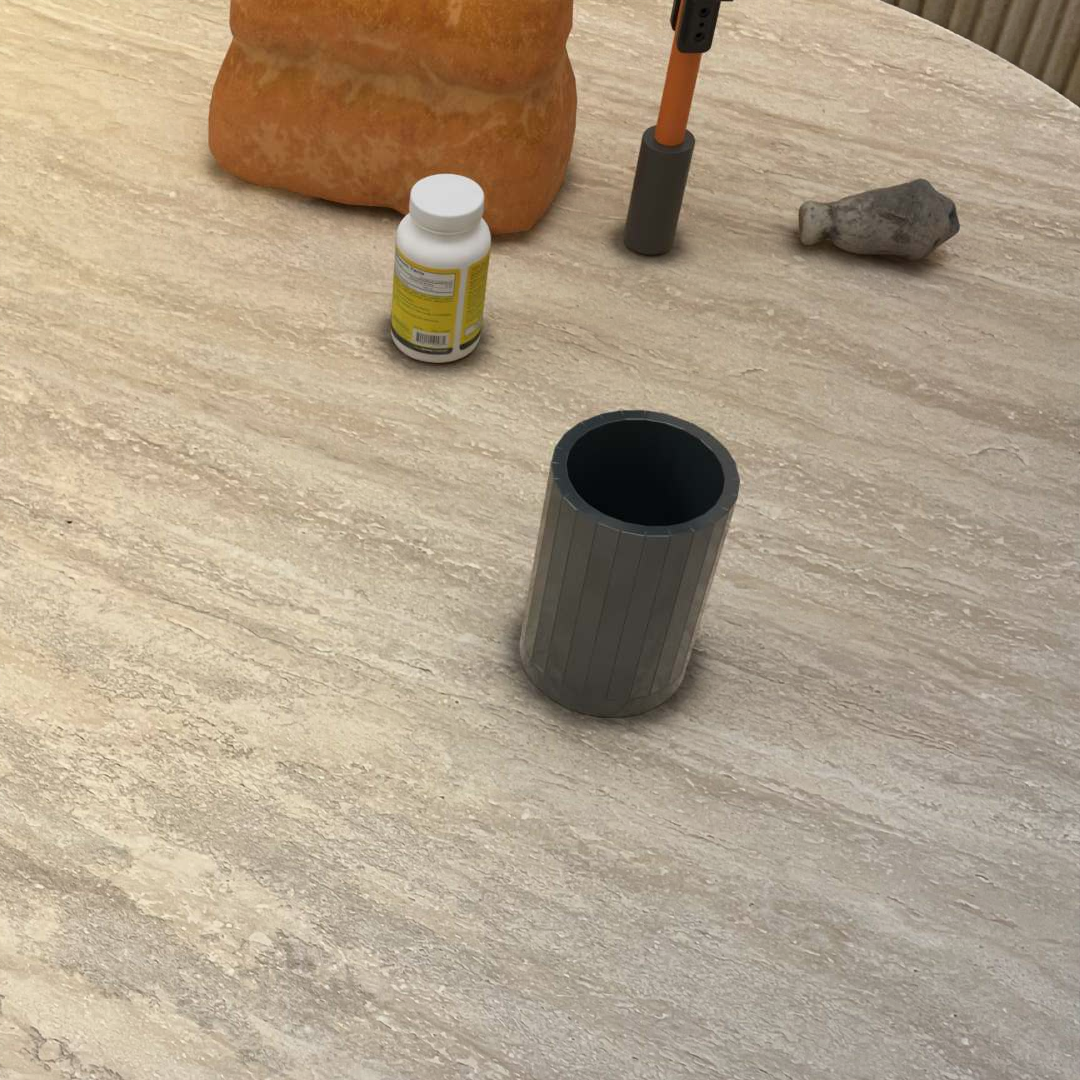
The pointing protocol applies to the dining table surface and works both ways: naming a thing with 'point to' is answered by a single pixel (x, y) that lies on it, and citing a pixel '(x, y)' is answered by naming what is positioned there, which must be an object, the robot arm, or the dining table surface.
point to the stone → (883, 221)
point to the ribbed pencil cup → (625, 560)
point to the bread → (399, 100)
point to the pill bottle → (440, 270)
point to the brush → (664, 160)
